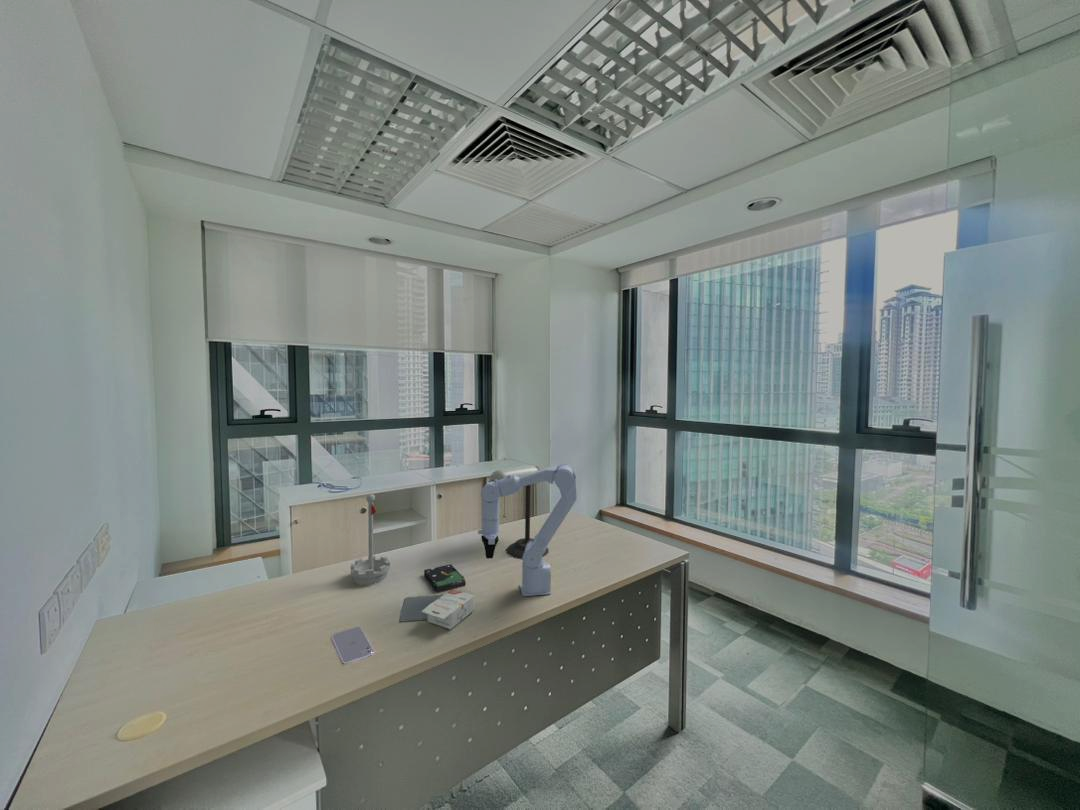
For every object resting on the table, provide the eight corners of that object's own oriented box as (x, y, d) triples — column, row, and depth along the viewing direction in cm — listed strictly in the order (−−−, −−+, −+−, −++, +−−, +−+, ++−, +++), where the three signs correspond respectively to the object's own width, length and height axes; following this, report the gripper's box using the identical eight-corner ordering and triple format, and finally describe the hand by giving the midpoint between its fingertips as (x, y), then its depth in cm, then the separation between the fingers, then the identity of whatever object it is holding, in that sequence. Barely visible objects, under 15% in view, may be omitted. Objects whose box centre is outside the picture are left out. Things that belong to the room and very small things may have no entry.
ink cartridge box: (452, 604, 133) (419, 627, 120) (452, 588, 133) (419, 609, 120) (474, 611, 129) (443, 635, 116) (475, 595, 129) (444, 617, 116)
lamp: (527, 533, 198) (528, 461, 196) (564, 548, 180) (566, 469, 178) (479, 547, 180) (480, 468, 178) (516, 566, 162) (517, 478, 161)
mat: (456, 594, 140) (456, 593, 140) (456, 617, 126) (456, 616, 126) (405, 598, 137) (405, 597, 136) (399, 622, 123) (399, 621, 123)
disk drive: (423, 577, 153) (437, 594, 140) (423, 569, 153) (437, 586, 140) (450, 571, 159) (466, 586, 146) (450, 563, 158) (466, 578, 146)
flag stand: (345, 576, 151) (345, 493, 150) (382, 566, 160) (382, 487, 158) (357, 590, 141) (357, 501, 140) (396, 579, 150) (396, 495, 149)
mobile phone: (360, 624, 120) (375, 651, 108) (360, 628, 120) (375, 655, 108) (330, 633, 116) (343, 663, 104) (330, 637, 116) (343, 667, 104)
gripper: (477, 511, 150) (476, 549, 151) (479, 525, 136) (478, 567, 136) (497, 511, 151) (496, 548, 152) (501, 524, 137) (500, 566, 138)
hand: (489, 557), depth 144 cm, fingers closed
